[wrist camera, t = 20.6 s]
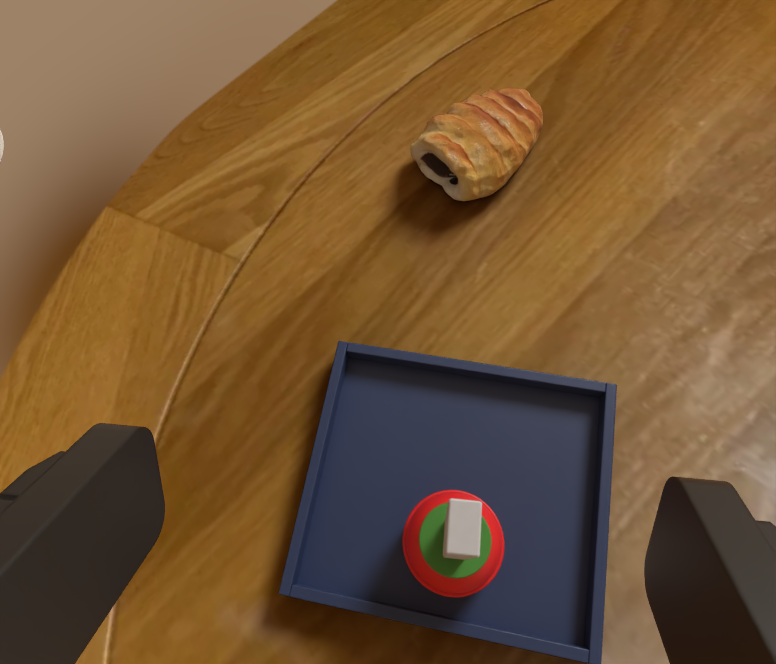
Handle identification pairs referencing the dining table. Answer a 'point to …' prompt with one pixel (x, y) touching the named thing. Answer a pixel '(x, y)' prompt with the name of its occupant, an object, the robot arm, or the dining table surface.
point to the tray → (465, 473)
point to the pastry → (479, 142)
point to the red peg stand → (453, 543)
